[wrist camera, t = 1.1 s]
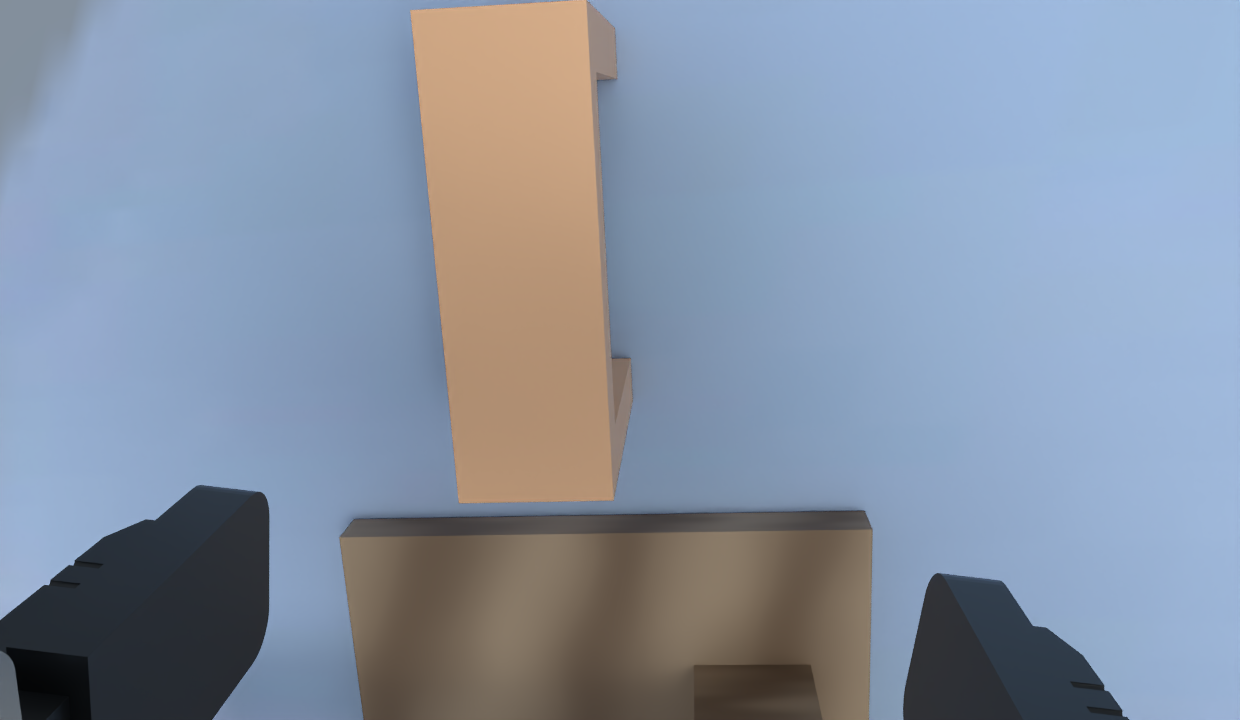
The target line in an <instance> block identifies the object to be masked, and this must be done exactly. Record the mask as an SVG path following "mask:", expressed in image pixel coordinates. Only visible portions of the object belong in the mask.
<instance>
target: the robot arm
mask: <svg viewBox="0 0 1240 720" xmlns="http://www.w3.org/2000/svg"><path fill="white" fill-rule="evenodd" d="M268 615H269V507H268V502H267V499H266V497H265V495H264V494H263V493H261V492H255V491H246V490H238V489H229V488H221V487H212V486H204V485H199V486H196V487H195V488H193V489H192V490H191V491H189V492H188V493H187V494H186V495H185V496H184V497H182V498H181V499H180V500H179V501H178V502H176V503H175V504H174V505H173V506H172V507H171V508H169V509H168V510H167V511H166V512H165V513H163V514H162V515H161V516H160V517H159V518H158V519H156V520H155V521H154V520H144V521H141V522H139V523H136V524H134V525H132V526H129V527H127V528H125V529H122V530H120V531H118V532H115V533H113V534H110V535H108V536H106V537H104V538H102V539H101V540H100V541H99V542H97V543H96V544H95V545H94V546H92V547H91V548H90V549H89V550H87V551H86V552H85V553H84V554H82V555H81V556H80V557H79V558H77V559H76V560H75V563H74V566H72V565H69V566H67V567H66V568H65V569H64V570H62V571H61V572H60V573H59V574H57V575H56V576H55V577H54V578H52V579H51V581H50V585H44V586H42V587H41V588H40V589H39V590H37V591H36V592H35V593H34V594H32V595H31V596H30V597H29V598H27V599H26V600H25V601H24V602H22V603H21V604H20V605H19V606H17V607H16V608H15V609H14V610H12V611H11V612H10V613H9V614H7V615H6V616H5V617H4V618H2V619H1V620H0V720H212V719H213V718H214V716H215V715H216V714H217V712H218V711H219V709H220V708H221V707H222V705H223V704H224V702H225V701H226V700H227V698H228V697H229V696H230V694H231V693H232V691H233V690H234V689H235V687H236V686H237V684H238V683H239V682H240V680H241V679H242V678H243V676H244V675H245V673H246V672H247V671H248V669H249V668H250V666H251V665H252V664H253V662H254V660H255V659H256V657H257V655H258V653H259V651H260V648H261V645H262V643H263V639H264V636H265V632H266V628H267V622H268ZM903 717H904V720H1129V719H1128V718H1127V717H1123V716H1122V709H1121V708H1120V706H1119V705H1118V704H1117V702H1116V701H1115V699H1114V698H1113V697H1112V695H1111V694H1110V693H1109V691H1104V684H1103V683H1102V681H1101V680H1100V679H1099V677H1098V676H1097V675H1096V673H1095V672H1094V670H1093V669H1092V668H1091V666H1090V665H1089V663H1088V662H1087V661H1086V659H1085V658H1084V656H1083V655H1082V654H1080V653H1079V652H1078V651H1076V650H1075V649H1074V648H1072V647H1071V646H1070V645H1068V644H1067V643H1066V642H1064V641H1063V640H1062V639H1060V638H1059V637H1058V636H1057V635H1055V634H1054V633H1053V632H1051V631H1050V630H1049V629H1047V628H1044V627H1036V626H1032V624H1031V623H1030V621H1029V620H1028V618H1027V617H1026V615H1025V614H1024V612H1023V611H1022V609H1021V608H1020V606H1019V605H1018V603H1017V602H1016V600H1015V599H1014V597H1013V596H1012V594H1011V593H1010V591H1009V590H1008V588H1007V587H1006V585H1005V584H1004V583H1003V582H1002V581H999V580H991V579H983V578H974V577H966V576H957V575H949V574H940V573H937V574H935V575H934V576H933V577H932V578H931V580H930V582H929V584H928V587H927V590H926V594H925V598H924V602H923V607H922V612H921V616H920V621H919V626H918V630H917V635H916V639H915V644H914V649H913V653H912V658H911V663H910V667H909V672H908V677H907V681H906V686H905V693H904V704H903Z"/></svg>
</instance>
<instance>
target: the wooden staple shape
mask: <svg viewBox="0 0 1240 720" xmlns="http://www.w3.org/2000/svg"><path fill="white" fill-rule="evenodd" d="M410 12H411V22H412V32H413V42H414V53H415V63H416V73H417V83H418V93H419V103H420V114H421V124H422V134H423V144H424V154H425V164H426V175H427V185H428V195H429V205H430V215H431V225H432V235H433V246H434V256H435V266H436V276H437V286H438V296H439V307H440V317H441V327H442V337H443V347H444V357H445V367H446V378H447V388H448V398H449V408H450V418H451V428H452V439H453V449H454V459H455V469H456V479H457V489H458V499H459V503H505V502H561V501H614V496H615V490H616V485H617V480H618V475H619V470H620V464H621V459H622V454H623V449H624V444H625V438H626V433H627V428H628V423H629V418H630V413H631V407H632V402H633V396H632V375H631V358H621V359H611V340H610V321H609V302H608V284H607V265H606V246H605V227H604V208H603V189H602V170H601V151H600V133H599V114H598V95H597V80H608V79H617V61H616V40H615V28H614V27H613V26H612V25H611V24H610V23H609V22H608V21H607V20H606V19H605V18H604V17H603V16H602V15H601V14H600V13H599V12H598V11H597V10H596V9H595V8H594V7H593V6H592V5H591V4H590V3H589V2H588V1H587V0H573V1H557V2H540V3H523V4H506V5H490V6H473V7H456V8H439V9H423V10H410Z"/></svg>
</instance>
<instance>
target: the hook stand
mask: <svg viewBox="0 0 1240 720" xmlns="http://www.w3.org/2000/svg"><path fill="white" fill-rule="evenodd" d="M872 530H873V529H872V527H871V525H870V522H869V520H868V518H867V515H866V513H865V511H825V512H764V513H704V514H643V515H582V516H522V517H461V518H401V519H354V520H353V521H352V522H351V524H350V525H349V526H348V527H347V529H346V530H345V531H344V532H343V534H342V535H341V536H340V537H339V538H340V546H341V553H342V561H343V568H344V576H345V583H346V591H347V598H348V606H349V613H350V621H351V628H352V636H353V643H354V651H355V658H356V666H357V673H358V681H359V688H360V696H361V703H362V710H363V718H364V720H869V687H870V635H871V583H872Z"/></svg>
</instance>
